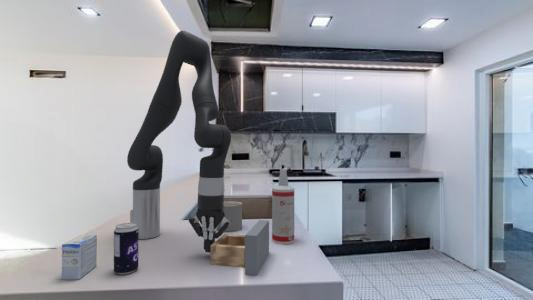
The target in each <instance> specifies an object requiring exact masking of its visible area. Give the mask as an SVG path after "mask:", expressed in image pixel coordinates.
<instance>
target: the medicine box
mask: <svg viewBox="0 0 533 300" xmlns="http://www.w3.org/2000/svg"><path fill="white" fill-rule="evenodd" d="M97 240H98V239H97V235H96V234H80V235H78V236H75V237H74V238H72V239H70V240H68V241H67V242H64V243H62V245H61V280H63V281H66V280H67V281H71V280H72V281H73V280H81V279H82V278H83V277H85V276H86V275H88V273H90V271H92V270H93V269H94V268H96V267H97V258H98V257H97V255H98V253H97V250H98V249H97V247H98V243H97V242H98V241H97Z"/></svg>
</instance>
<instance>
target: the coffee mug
mask: <svg viewBox="0 0 533 300" xmlns="http://www.w3.org/2000/svg"><path fill="white" fill-rule="evenodd" d="M223 211H224V214H225V218H226V219H227V220H230V221H231V224H230V225H229V227H228V228H227V229H226V230H225V231H224V233H235V232H238V231H241V230H242V229H243V203H242V202H241V201H240V202H239V201H224V208H223ZM221 227H222V221H221V223H220V224H219V225H218V226H217V230H216V231H217V232H218V231H219V230H220V229H221Z"/></svg>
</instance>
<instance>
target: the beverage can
mask: <svg viewBox="0 0 533 300" xmlns="http://www.w3.org/2000/svg"><path fill="white" fill-rule="evenodd" d="M139 240H140V239H139V229H138V227H137V224H136V223H130V222H123V223H119V224H116V225H115V229H114V230H113V272H114V273H116V274H117V275H123V276H124V275H130V274H132V273H134V272H135V271H136V270H138V268H139Z"/></svg>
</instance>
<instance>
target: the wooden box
mask: <svg viewBox="0 0 533 300" xmlns="http://www.w3.org/2000/svg"><path fill="white" fill-rule="evenodd" d="M245 235H246V234H244V235H243V234H242V235H241V234H230V233H229V234H226V233H225V234H224V233H223V234H222V235H221V236H220V237H219V238H217V239H216V241H215V243H213V244H212V245H211V252H210V265H217V266H229V267H241V268H245Z"/></svg>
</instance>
